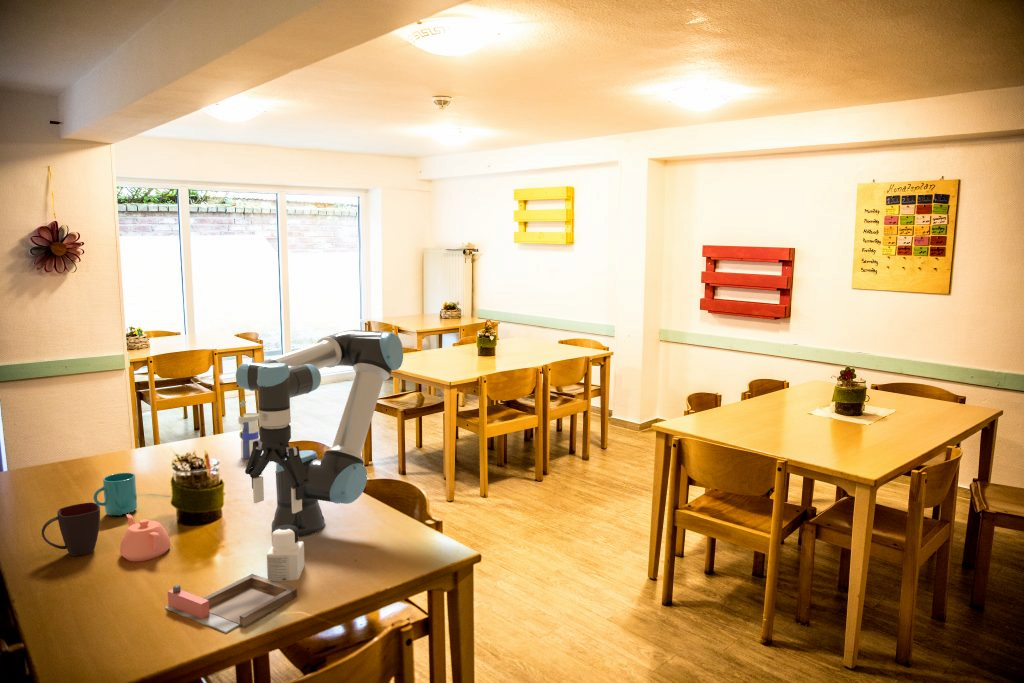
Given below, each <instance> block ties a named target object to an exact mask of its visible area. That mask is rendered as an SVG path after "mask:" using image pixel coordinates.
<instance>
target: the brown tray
mask: <svg viewBox="0 0 1024 683" xmlns="http://www.w3.org/2000/svg"><path fill="white" fill-rule="evenodd" d="M297 597H298V589H297V588H295V587H292V586H289V585H287V584H284V583H281V582H279V581H272V580H269V579H268V578H266V577H263V576H260V575H257V574H254V573H251V574H249V575H247V576H245V577H243V578H240V579H239V580H237V581H234V582H233V583H230V584H228V585H226V586H224V587H223V588H220V589H218V590H216V591H215V592H212V593H210V594H208V595H206V596H204V597H203V598H204V599H206V600H209V613H210V615H208V616H206V617H205V618H203V619H201V618H199V617H196V616H194V615H191V614H189V613H186V612H184V611H181V610H179V609H176V608H174V607H171V606H169V605H167V606H165V607H164V609H165V610H167V611H170V612H172V613H175V614H177V615H179V616H182V617H184V618H187V619H190V620H192V621H194V622H198V623H199V624H202V625H204V626H207V627H209V628H211V629H214V630H217V631H219V632H221V633H224V634H227V633H229V632H231V631H232V630H235V629H237V628H238V627H241V628H243V629H245V628H247V627H249V626H251V625H253V624H254V623H256V622H258V621H260V620H262V619H263V618H265V617H266V616H269V615H271V614H272V613H273V612H275V611H277V610H279V609H280V608H282V607H283V606H284V605H286V604H288V603H289V602H291V601H292V600H294V599H296V598H297Z"/></svg>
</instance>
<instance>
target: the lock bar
mask: <svg viewBox="0 0 1024 683" xmlns="http://www.w3.org/2000/svg"><path fill="white" fill-rule="evenodd" d="M167 604H168V605H167V606H171V607H174V608H176V609H179V610H181V611H184V612H186V613H189V614H191V615H194V616H196V617H199V618H201V619H203V618H205V617H206V616H208V615H210V613H209V600H206V599H204V597H201V596H198V595H195V594H193V593H191V592H188V591H186V590H182V589H181V584H175V585H173V586H172V588H171V589H169V590H168V591H167Z"/></svg>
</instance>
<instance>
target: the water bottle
mask: <svg viewBox="0 0 1024 683" xmlns="http://www.w3.org/2000/svg"><path fill="white" fill-rule="evenodd" d="M246 403H247V401H244V399H241V402H239V405H240V408H242V407H244V408H245V407H246V405H245V404H246ZM237 420H238V424H241V429H240V431H239V438H240V439H241V441H240V458H241V459H242V460H243V459H244V460H249V458H250V455H251V453H252V450H253V442H254V441H257V440H260V437H259V428H260V427H259V412H258V413H256V412H246V413H243V416H240V415H238V419H237Z"/></svg>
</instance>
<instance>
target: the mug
mask: <svg viewBox="0 0 1024 683" xmlns="http://www.w3.org/2000/svg"><path fill="white" fill-rule="evenodd" d="M56 514H57V516H54V517H52V518H50V519H49V520H48V521H46V522H45V523H44V524H43V526H42V528H41V537H42V539H43V541H45V543H47V544H48V545H50V547H53V548H56V549H60V550H67V552H68V554H69V555H71V556H72V557H75V556H76V557H77V556H82V555H86V554H90V553H92V552H94V551H95V549H96V545H97V542H98V537H99V536H98V535H99V531H100V524H101V506H100V505H98V504H96V503H95V502H83V503H78V504H77V503H76V504H71V505H68V506H64V507H61V508H58V511H57V513H56ZM56 521H58V526H59V530H60V534H61V536H62V541H63V542H64V545H59V544H55V543H53V542H51V541H50V540H48V539H47V538H46V535H45V530H46V529H47V528H48V526H50V524H52V523H53V522H56Z"/></svg>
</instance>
